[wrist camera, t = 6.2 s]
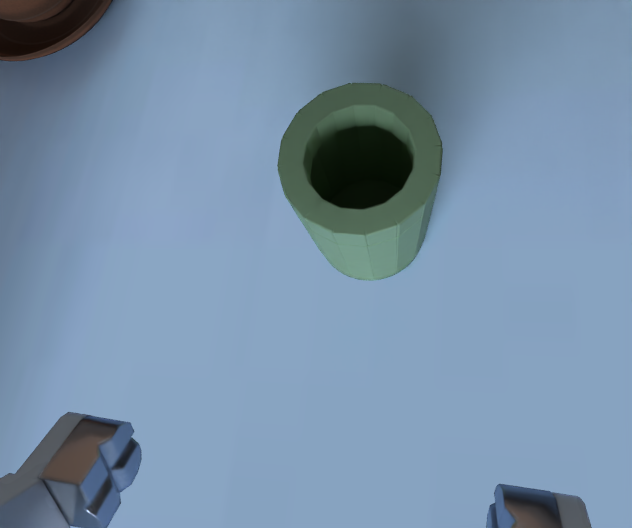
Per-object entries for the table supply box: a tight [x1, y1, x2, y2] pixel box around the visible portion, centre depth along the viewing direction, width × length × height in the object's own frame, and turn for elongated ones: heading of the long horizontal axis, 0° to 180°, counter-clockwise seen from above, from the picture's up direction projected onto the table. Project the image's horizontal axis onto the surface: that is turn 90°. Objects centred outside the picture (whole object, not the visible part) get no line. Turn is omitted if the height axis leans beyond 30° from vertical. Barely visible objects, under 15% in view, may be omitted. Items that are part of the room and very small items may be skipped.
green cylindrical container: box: [277, 83, 443, 280], centre depth 19 cm, size 5×5×8 cm
